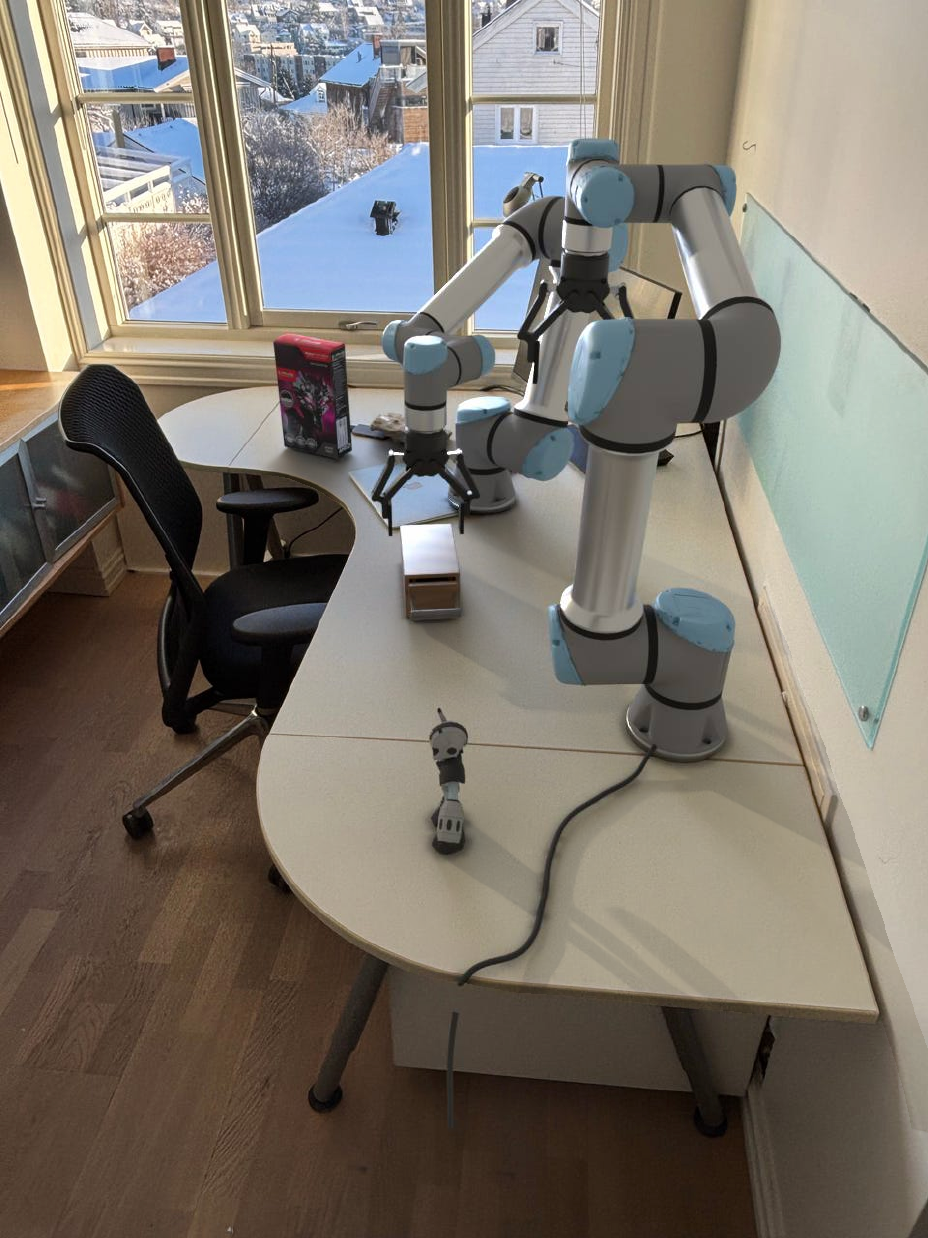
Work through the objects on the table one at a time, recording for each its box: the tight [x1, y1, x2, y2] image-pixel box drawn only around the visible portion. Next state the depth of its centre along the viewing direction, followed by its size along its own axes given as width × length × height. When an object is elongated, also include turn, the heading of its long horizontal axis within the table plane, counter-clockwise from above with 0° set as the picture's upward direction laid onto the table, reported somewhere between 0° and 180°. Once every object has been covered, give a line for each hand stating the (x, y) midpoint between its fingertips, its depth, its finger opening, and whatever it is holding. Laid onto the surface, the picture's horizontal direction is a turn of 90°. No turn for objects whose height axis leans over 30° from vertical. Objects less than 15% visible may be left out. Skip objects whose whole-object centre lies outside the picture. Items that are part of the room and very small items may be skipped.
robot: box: [428, 707, 469, 855], centre depth 120 cm, size 20×5×20 cm, turn 3°
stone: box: [369, 412, 453, 444], centre depth 234 cm, size 21×15×6 cm
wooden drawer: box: [408, 577, 462, 621], centre depth 169 cm, size 24×9×7 cm, turn 6°
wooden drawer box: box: [399, 523, 461, 618], centre depth 174 cm, size 19×10×9 cm, turn 6°
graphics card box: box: [272, 332, 353, 460], centre depth 223 cm, size 17×7×27 cm, turn 62°
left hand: (425, 532), depth 177 cm, fingers open, 13 cm apart
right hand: (575, 383), depth 155 cm, fingers open, 13 cm apart
